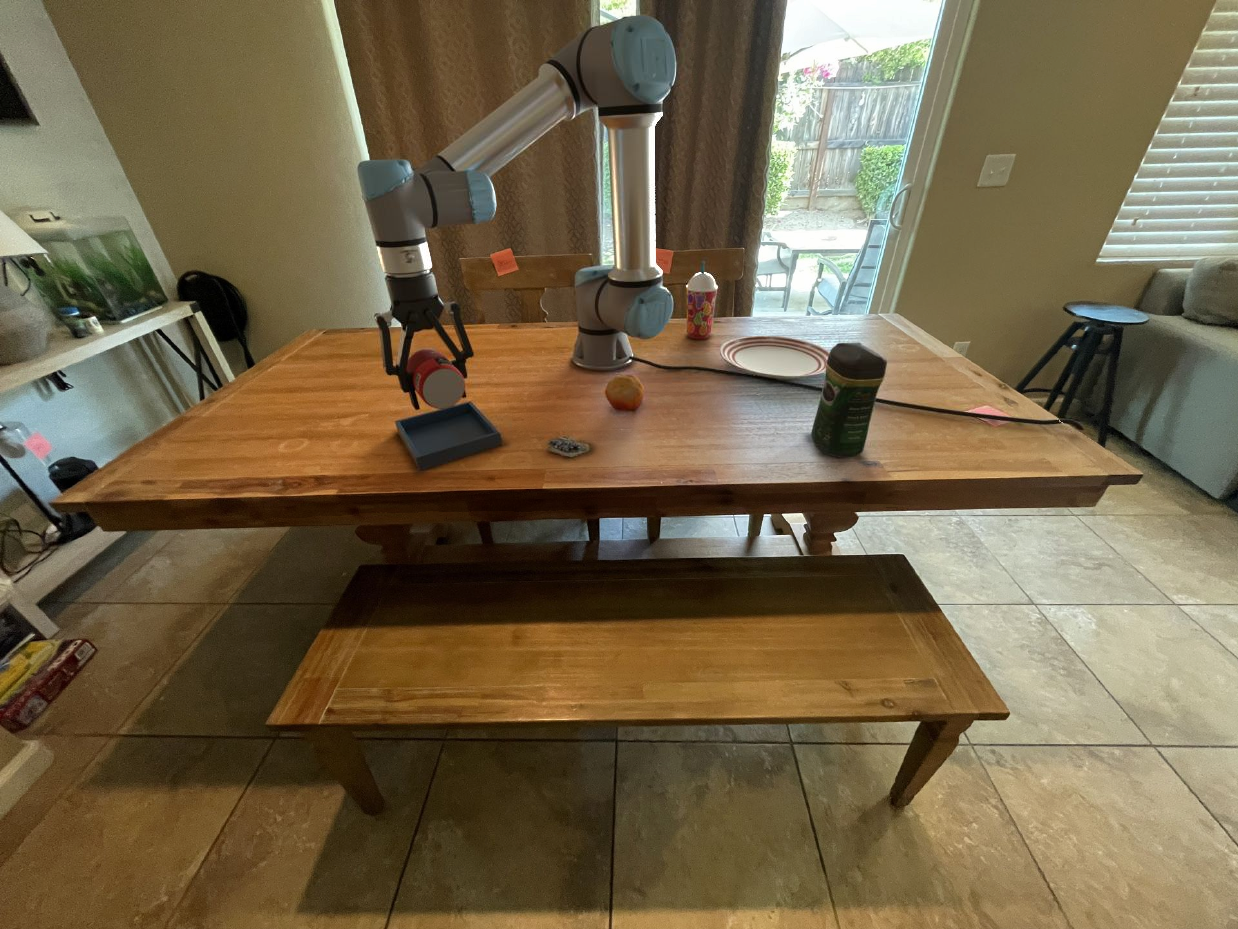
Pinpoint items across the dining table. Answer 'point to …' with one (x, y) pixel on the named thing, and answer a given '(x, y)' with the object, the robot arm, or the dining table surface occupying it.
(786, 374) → the dinner plate
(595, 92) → the robot arm
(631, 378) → the fruit
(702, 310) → the smoothie
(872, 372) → the coffee jar
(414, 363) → the canned food
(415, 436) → the tray
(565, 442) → the grey mineral rock
